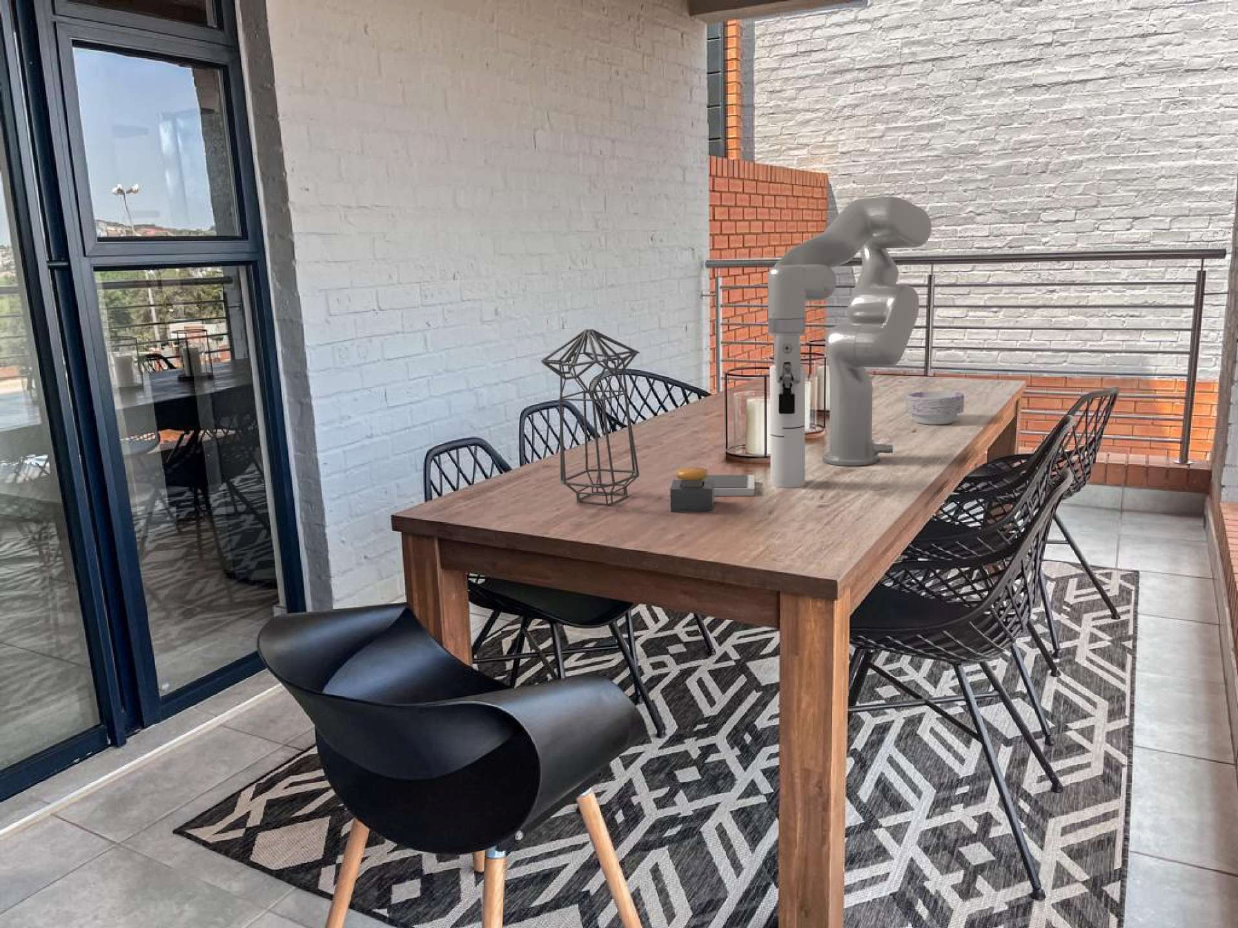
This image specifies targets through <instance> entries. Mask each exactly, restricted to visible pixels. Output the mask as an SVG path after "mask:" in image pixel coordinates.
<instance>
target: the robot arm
mask: <svg viewBox="0 0 1238 928" xmlns="http://www.w3.org/2000/svg"><path fill="white" fill-rule="evenodd" d="M931 234H932V221H931V218H930V216H929V214H928V212H927V211H926V210H924V209H923V208H922V207H919V206H917V205H916V204H914V203H912V202H910V201H908V200H905V199H903V198H900V197H896V196H882V197H880V196H879V197H865V198H858V199H855V200H853V201H851V202H849V203H848V204H847V205H846V206H845V207H844V208H843V209H842V211H840V213H839V214H838V215H837V216H836V218H835V219H834V220H833V221H832V222H831V224H829V226H828V227H827V228H826V229H825V230H824V231H823V232H821V233H818V234H817V235H814V236H812V237H811V238H809V239H807V240H805V241H803V242H801V243H800V244H797V245H796V246H794V247H792V248H790V249H789V250H787V251H786V252H785V253H784V254H783V255H782V256H781V257H780V259H778V261H777V262H776V263H775V265H774V266H773V267H772V268H770V270H769V271H768V278H767V288H768V289H767V291H768V292H767V293H768V297H767V298H768V300H767V302H768V304H767V306H768V307H767V313H768V314H767V318H768V319H767V335H768V336H773V359H774V360H773V362H774V365H775V372H776V381H777V383H779V384H780V394H779V414H794V413H795V394H794V380H795V381H798V383H797V384H799V383H800V382H801V365H802V363H801V362H802V361H801V359H802V358H801V355H802V352H801V349H802V348H801V336H802V335H806V304H807V302H819V301H820V302H822V301H824V300H826V299H828V298H830V297H831V296H832V295H833V294H834V292H835V290H836V287H837V276H836V273H835V271H834V270H833V268H835V267H839V266H841V265H844V264H847V263H849V262H850V261H852V259H854V257H855V256H856V255H857V254H858V253H859V252H860V257H861V264H862V265H861V271H860V274H859V276H858V278H857V281H856V283H855V286H854V288H853V290H852V292H851V296H850V297H849V299H848V304H847V306H846V307H847V308H846V314H847V315H846V316H847V318H848V319H849V321H850V322H845V323H844V322H843V323H840V324H836V325H834V326H833V327H832V328H831V329H830V330H829V331H828V332H827V335H826V336H825V343H824V344H825V353H826V359H827V363H828V370H829V451H828V452H825V453H824V454H823V455H822V461H823V462H824V463H827V464H829V465H835V466H846V467H847V466H848V467H850V466H851V467H855V466H856V467H857V466H866V465H867V466H868V465H873V464H875V463H877V462H878V461H879V454H893V453H894V448H893V447H894V446H893V444H886V443H880V444H879V443H876V442H874V440H873V433H872V432H873V431H872V430H873V395H874V394H873V381H872V379H871V375H869V373H868V371H867V369H866V368H865V367H868V368H869V367H873V368H874V367H875V368H876V367H877V368H891V367H894V366H896V365H897V364H898V363H900V361H901V360H902V358H903V355H904V354H905V350H906V349H907V346H908V343H909V340H910V337H911V336H912V333H913V330H914V327H915V325H916V324H917V323H916V322H917V319H918V317H919V311H920V298H919V294H918V292H917V291H916V289H914V287H913V286H911V285H908V284H902V283H900V284H899V283H897V282H898V278H899V276H900V275H899V268H898V267H897V264H896V262H895V261H894V259H893V258H892V257H891V255H890V254H889V252H888V250H887V249H907V248H908V249H909V248H911V249H913V248H919V247H922V246H923V245H925V244H926V243H927V242H928V240H929V238H930V237H931ZM783 366H784V372H783ZM791 374H792V379H791Z"/></svg>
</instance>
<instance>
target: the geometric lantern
mask: <svg viewBox="0 0 1238 928" xmlns="http://www.w3.org/2000/svg"><path fill="white" fill-rule="evenodd" d="M593 340H594V341H595V343H596V344H597V345H598V348H599V350H600V352H601V353H597V351H596V348H595V344H594V341H593ZM604 340H605V341H604ZM606 341H607V342H610V343H612V344H613V345H616V346H618V347H620V348H623V349H626V351H622V352H621V351H620V352H617V351H615V350H614V349H613V348H612V347H611V346H610V345H609V344H608V343H606ZM588 342H589V346H590V350H591V352H590V351H587V346H588V345H587V344H588ZM570 344H572V345H571V346H570V347H569V348H568V349H567V350H566V351H565V352H564V354H563V355H561V357H560V358H559V359H551V358H552V357H554V356H555V355H556V354H558V353H559V352H561V351H562V350H563V349H565V348H566V347H568V346H569V345H570ZM605 347H606V349H605ZM582 349H583V350H582ZM607 350H609V351H610V352H611V353H612V354H609V353H608V351H607ZM638 354H640V351H638V350H636V349H634V348H632V347H630V346H627V345H625V344H624V343H621V342H619V341H617V340H615V339H614V338H611V337H609V336H608V335H606V334H603V333H601V332H599V331H597V330H595V329H593V328H590V329H588V328H587V329H584V330H583V331H581V332H580V333H578V334H577V335H575V336H574V337H572V338H571V339H570V340H568V341H567V342H566V343H564V344H563V345H561V346H560V347H558V348H557V349H556V350H554V351H553V352H551V353H550V354H548V355H547V356H545V357H544V358H542V359H541V360H540V362H541V364H543V365H544V366H545V367H547V368H548V369H549V370H551V371H552V372H553V373H554V374H556V375H557V376H559V399H558V405H559V406H558V409H559V455H560V456H559V462H560V468H559V469H560V483H561V484H562V485H565V486H566V487H567V488H569V489H570V490H571V491H572V492H574V493H575V494H576V502H577V503H583V504H591V505H602V506H611V505H615V504H616V503H619V502H621V501H623V500H624V499H626V498H628V497H629V495H628V489H627V488H628V487H629V486H630V485H631V484H632V483H633V482H634V481H635V480H636V479H637V478H638V477H639V476H640V472H639V465H638V458H637V452H636V446H635V445H636V444H635V439H634V438H635V437H634V433H633V426H632V421H631V414H630V408H629V407H630V406H629V400H628V394H629V392H628V385H627V378H626V368H627V367H628V366H629V365H630V364H631V362H632V361H633V360H634V358H635V357H636V356H637V355H638ZM580 355H585V357H587V358H588V359H590V360H588V361H581V362H578V360H579V357H580ZM623 355H625V356H623ZM622 356H623V357H622ZM599 357H600V358H602V360H601V359H600V360H599ZM627 360H628V361H627ZM626 361H627V362H626ZM609 362H610V363H611V364H613V367H612V366H611V367H610V365H609ZM625 362H626V363H625ZM595 364H597V365H599V366H600V367H601V368H602V370H601V372H600V375H599V376H598V379H597V381H596V382H595V384H594V386H593V389H592V390H590V389H589V388H588V387H587V386H586V384H585V382H584V381H583V380H582V379H581V377H580V376H582V375H583V374H584V373H585V372H586V371H588V370H589V369H591V368H592V367H593V366H594V365H595ZM553 365H558V367H559V368H556V367H555V366H553ZM585 365H587V366H586V367H585V368H583V369H582V370H581V371H579V372H578V373H577V372H576V367H578V366H585ZM621 366H622V368H621ZM565 367H567V371H565ZM620 368H621V369H620ZM619 369H620V370H619ZM606 370H607V371H608V372H609V373H610V374H611V376H610V378H609V380H608V382H607V384H606V386H605V387H604V390H603V389H600V390H599V389H598V390H597V387H598V385H599V383H600V381H601V379H602V377H603V375H604V373H605V372H606ZM613 371H614V372H613ZM620 374H622V379H623V383H622V380H621V378H620V376H619V375H620ZM566 375H569V376H566ZM570 375H571V376H570ZM615 376H617V377H616V378H617V379H618V381H619V384H620V386H621V388H622V390H621V389H620V390H614V389H612V390H610V389H609V390H608V387H609V385H610V383H611V381H612V379H613V378H614V377H615ZM563 380H564V381H563ZM568 380H575V382H577V384H578V385H579V386H580V388H581V389H582V391H581V390H580V391H578V392H575V393H571V394H568V395H563V393H564V389H565V385H566V382H567V381H568ZM595 393H602V394H601V396H600V398H595ZM605 393H618V394H615V395H611V396H608V397H604V395H605ZM580 394H582V398H570V397H573V396H576V395H580ZM587 394H588V395H589V397H590V398H587ZM621 396H623V398H624V402H625V404H624V405H625V411H626V413H625V414H626V420H627V430H628V441H629V448H630V449H629V451H630V459H631V466H632V468H631V469H632V470H630V469H614V467H613V461H612V459H613V457H612V452H611V445H610V436H609V430H608V423H607V422H608V421H607V415H606V407H605V401H606V400H609V399H614V398H616V397H621ZM563 401H570V402H571V401H577V402H578V401H579V402H580V401H581V402H583V423H584V425H583V426H584V427H583V428H584V452H585V453H584V456H585V457H584V458H585V461H584V462H585V470H583V471H580V472H577V473H575V474H573V475H571V476H570V475H569V477H567V475H566V474H567V473H566V459H565V457H566V456H565V439H564V421H563ZM587 402H591V403H592V404H591V405H592V414H593V417H592V418H593V427H594V436H595V437H594V440H595V452H596V462H597V468H590V469H589V457H588V456H589V454H588V453H589V452H588V451H589V450H588V428H587V427H588V425H587V422H588V421H587V420H588V419H587ZM596 402H597V403H598V402H600V403H601V410H602V418H603V426H604V434H605V440H606V446H607V455H608V463H609V468H601V457H600V447H599V445H600V444H599V434H598V433H599V432H598V423H597V411H596ZM592 472H595V473H596V472H597V476H596V482H595V483H594V482H593V480H592V477H591V475H590V473H592ZM602 472H605V473H606V472H608V473H609V472H610V476H611V483H602V482H603V481H602ZM586 473H587V474H586ZM614 473H624V474H625V473H628V474H630V476H628V477H625V478H623V479H621V480H620V479H619V480H617V481H616V480H615V474H614ZM584 474H586V475H587V476H588V479H589V481H590V483H591V484H589V483H579V482H570V481H571V480H572V479H574V478H577V477H579V476H581V475H584ZM568 481H569V482H568ZM624 482H625V483H624ZM573 486H575V487H583V488H581V489H579V490H576V489H575V488H574V487H573ZM609 487H611V490H610V492H608V491H606V490H605V489H606V488H609ZM615 487H620V488H618V489H616V490H615ZM588 488H591V492H584V491H585V490H586V489H588ZM594 488H596V491H594ZM599 489H601V490H602V491H599ZM621 490H622V491H623V493H620V492H619V491H621ZM618 492H619V493H618ZM580 495H584V496H580ZM614 495H615V496H616V495H617V496H623V497H621V498H619V499H617V500H615V501H614V499H613V498H614V497H613V496H614ZM590 496H603V497H605V502H595V501H589V500H588V501H586V500H583V499H585V498H587V497H590ZM608 496H610V503H609V502H608V501H609V500H608Z"/></svg>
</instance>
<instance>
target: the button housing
mask: <svg viewBox="0 0 1238 928" xmlns="http://www.w3.org/2000/svg"><path fill="white" fill-rule="evenodd" d="M669 492H670V493H669V494H670V495H669V498H670V512H672V513H673V512H674V513H676V512H677V513H679V512H681V513H684V512H685V513H688V512H689V513H693V512H694V513H695V512H697V513H698V512H704V513H705V512H706V513H707V512H708V513H709V512H710V513H711V512H713V510H714V503H715V496H714V479H703V487H681V479H678V478H676V479H675V478H674V479H673V480H672V483H671V485H670V489H669Z"/></svg>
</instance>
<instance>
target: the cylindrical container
mask: <svg viewBox="0 0 1238 928" xmlns="http://www.w3.org/2000/svg"><path fill="white" fill-rule="evenodd" d="M783 372H784V366H783ZM791 379H792V374H791ZM797 383H798V381H795V380H794V394H795V413H794V414H779V394H780V384H779V383H777V381H776V372H775V365H770V366H769V417H770V418H769V424H770V425H769V428H770V430H769V431H770V435H769V438H770V446H769V447H770V486H772V487H776V488H782V489H794V488H801V487H803V486H804V485H806V441H805V440H806V366H805V365H804V364H801V382H800V383H799V384H797Z"/></svg>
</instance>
